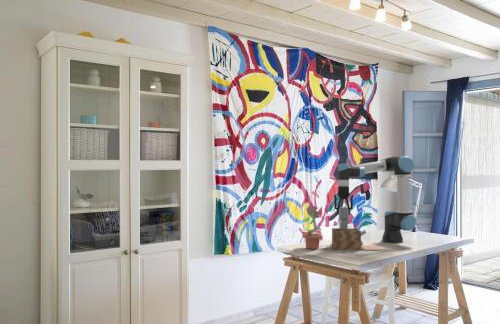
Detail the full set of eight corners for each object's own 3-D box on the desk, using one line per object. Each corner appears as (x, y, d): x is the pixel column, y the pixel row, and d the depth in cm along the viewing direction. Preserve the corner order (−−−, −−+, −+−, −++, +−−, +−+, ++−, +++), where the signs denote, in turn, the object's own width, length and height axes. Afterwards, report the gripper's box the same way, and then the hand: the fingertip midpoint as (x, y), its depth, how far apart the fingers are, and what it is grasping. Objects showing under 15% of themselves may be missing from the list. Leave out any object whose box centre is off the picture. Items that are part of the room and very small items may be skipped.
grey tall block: (345, 235, 309) (345, 206, 309) (348, 238, 296) (348, 208, 296) (338, 235, 309) (338, 206, 309) (341, 238, 296) (341, 208, 296)
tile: (377, 247, 308) (377, 245, 308) (382, 250, 294) (382, 249, 294) (360, 246, 309) (360, 245, 309) (364, 250, 295) (364, 249, 295)
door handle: (346, 253, 314) (371, 240, 310) (340, 243, 315) (365, 230, 311) (346, 248, 331) (370, 236, 327) (341, 239, 332) (364, 227, 328)
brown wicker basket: (358, 246, 308) (359, 228, 308) (362, 250, 295) (362, 231, 295) (330, 246, 309) (330, 228, 310) (332, 249, 297) (332, 230, 297)
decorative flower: (327, 248, 301) (327, 205, 301) (317, 251, 291) (317, 206, 291) (309, 245, 311) (309, 203, 311) (298, 248, 300) (298, 205, 301)
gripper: (355, 185, 306) (355, 218, 306) (329, 185, 307) (329, 218, 307) (357, 186, 298) (357, 220, 298) (331, 186, 300) (331, 219, 299)
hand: (343, 219), depth 303 cm, fingers closed on grey tall block, 5 cm apart
